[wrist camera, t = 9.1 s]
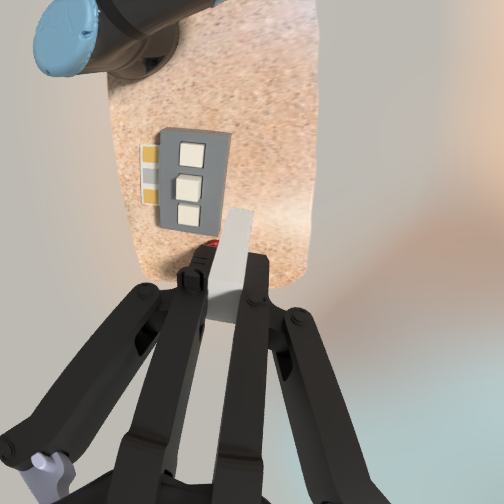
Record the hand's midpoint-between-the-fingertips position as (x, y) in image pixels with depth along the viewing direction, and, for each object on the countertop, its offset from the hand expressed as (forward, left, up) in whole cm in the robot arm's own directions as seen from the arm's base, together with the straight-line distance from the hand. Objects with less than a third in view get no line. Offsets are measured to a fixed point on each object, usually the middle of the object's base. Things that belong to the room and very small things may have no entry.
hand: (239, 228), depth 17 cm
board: (+11, -11, -32) cm, 36 cm away
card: (+11, -20, -32) cm, 40 cm away
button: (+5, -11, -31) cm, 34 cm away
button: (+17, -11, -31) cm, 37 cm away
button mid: (+11, -11, -30) cm, 34 cm away
